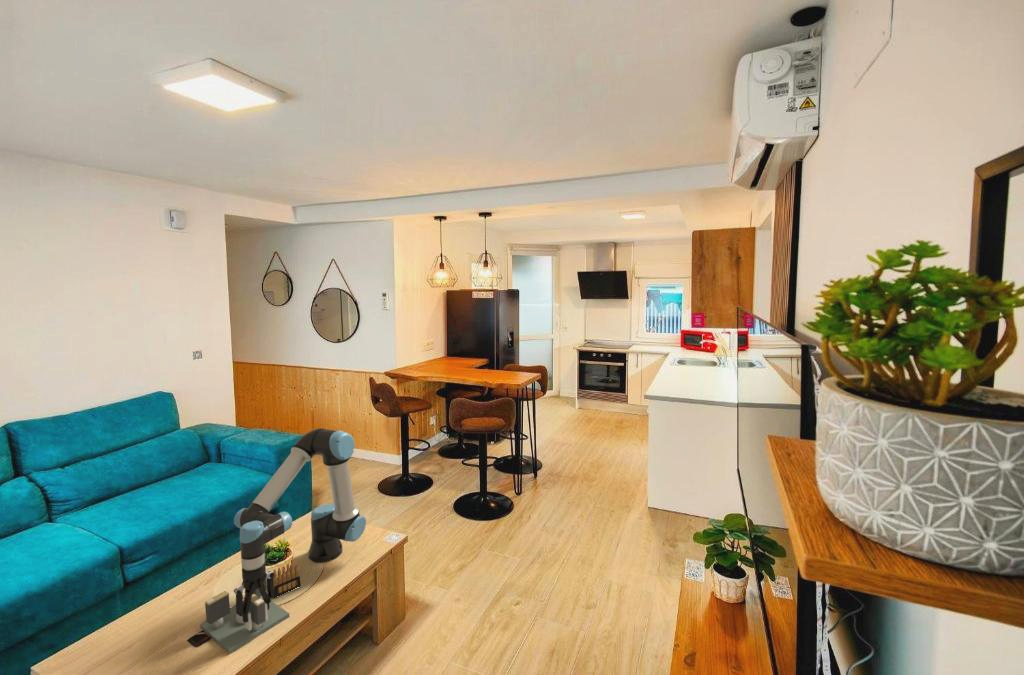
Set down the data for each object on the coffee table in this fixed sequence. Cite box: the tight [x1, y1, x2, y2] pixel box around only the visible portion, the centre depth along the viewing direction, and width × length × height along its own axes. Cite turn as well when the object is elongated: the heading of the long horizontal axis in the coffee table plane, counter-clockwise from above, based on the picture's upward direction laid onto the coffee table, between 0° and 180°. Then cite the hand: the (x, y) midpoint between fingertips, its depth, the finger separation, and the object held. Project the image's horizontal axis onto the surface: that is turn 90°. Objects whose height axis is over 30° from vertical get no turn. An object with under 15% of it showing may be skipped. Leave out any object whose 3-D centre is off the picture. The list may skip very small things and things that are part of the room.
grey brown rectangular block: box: [253, 578, 267, 600], centre depth 183 cm, size 7×3×12 cm, turn 177°
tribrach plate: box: [199, 600, 290, 655], centre depth 176 cm, size 22×22×4 cm
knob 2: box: [249, 594, 265, 631], centre depth 170 cm, size 7×3×12 cm, turn 57°
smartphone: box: [186, 629, 213, 648], centre depth 171 cm, size 7×1×15 cm
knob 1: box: [204, 590, 231, 629], centre depth 171 cm, size 7×3×12 cm, turn 150°
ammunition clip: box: [272, 560, 302, 599], centre depth 193 cm, size 11×2×12 cm, turn 134°
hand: (256, 623), depth 171 cm, fingers open, 5 cm apart
